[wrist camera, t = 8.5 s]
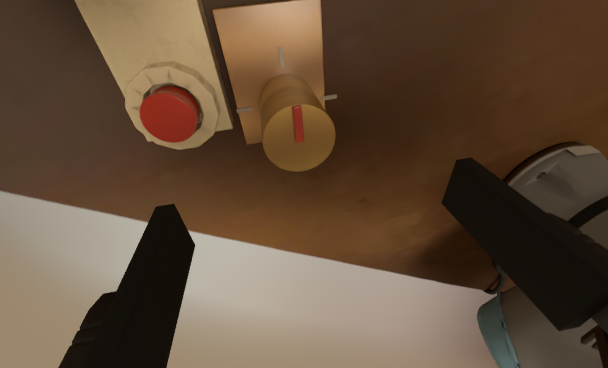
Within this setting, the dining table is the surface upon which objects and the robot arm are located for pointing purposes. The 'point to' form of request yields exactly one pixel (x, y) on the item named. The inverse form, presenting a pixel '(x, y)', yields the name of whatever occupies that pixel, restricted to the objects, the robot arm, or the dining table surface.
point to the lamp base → (161, 57)
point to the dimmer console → (270, 52)
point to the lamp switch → (170, 114)
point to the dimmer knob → (294, 124)
